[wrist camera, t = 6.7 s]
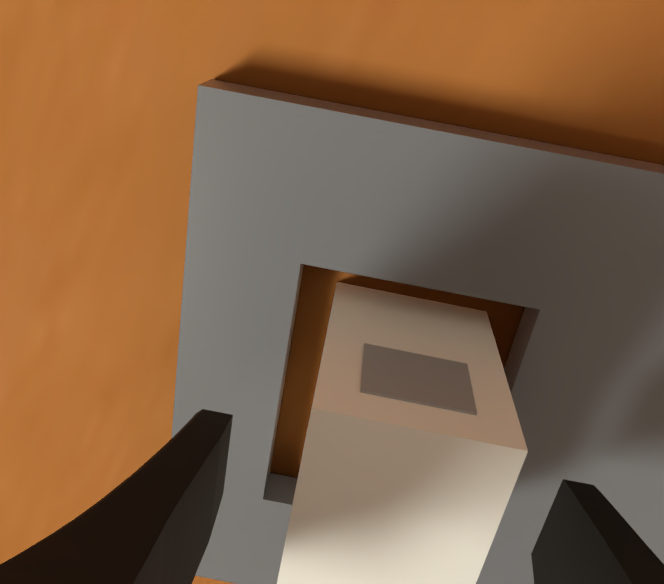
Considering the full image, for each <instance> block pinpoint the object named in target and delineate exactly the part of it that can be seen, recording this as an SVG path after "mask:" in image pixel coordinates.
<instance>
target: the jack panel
mask: <svg viewBox="0 0 664 584" xmlns="http://www.w3.org/2000/svg"><path fill="white" fill-rule="evenodd" d="M304 264H305V265H310V266H315V267H320V268H326V269H331V270H336V271H341V272H346V273H352V274H357V275H362V276H367V277H372V278H377V279H383V280H388V281H393V282H398V283H403V284H409V285H414V286H419V287H424V288H429V289H435V290H440V291H445V292H450V293H455V294H461V295H466V296H471V297H476V298H481V299H487V300H492V301H497V302H502V303H507V304H513V305H518V306H523V307H525V308H524V311H523V314H522V317H521V320H520V323H519V326H518V329H517V332H516V335H515V338H514V341H513V344H512V347H511V350H510V353H509V356H508V359H507V361H506V364H505V367H504V372H505V375H506V379H507V382H508V385H509V389H510V392H511V395H512V399H513V402H514V405H515V409H516V412H517V416H518V419H519V422H520V426H521V429H522V432H523V436H524V439H525V442H526V446H527V449H528V453H527V455H526V458H525V460H524V463H523V465H522V468H521V470H520V473H519V475H518V478H517V481H516V483H515V486H514V488H513V491H512V493H511V496H510V498H509V501H508V503H507V506H506V509H505V511H504V514H503V516H502V519H501V521H500V524H499V526H498V529H497V531H496V534H495V536H494V539H493V542H492V544H491V547H490V549H489V552H488V554H487V557H486V559H485V562H484V564H483V567H482V569H481V572H480V575H479V577H478V580H477V582H476V584H534V576H533V566H532V557H531V553H532V551H533V549H534V546H535V544H536V542H537V539H538V537H539V534H540V532H541V530H542V527H543V525H544V523H545V520H546V518H547V516H548V513H549V511H550V509H551V506H552V504H553V502H554V499H555V497H556V494H557V492H558V490H559V487H560V485H561V483H562V480H563V479H565V480H571V481H576V482H581V483H586V484H591V485H594V486H595V487H596V488H597V489H598V490H599V491H600V492H601V493H602V494H603V495H604V496H605V497H606V499H607V500H608V501H609V502H610V503H611V504H612V505H613V507H614V508H615V509H616V510H617V511H618V512H619V513H620V515H621V516H622V517H623V518H624V519H625V520H626V522H627V523H628V524H629V525H630V526H631V527H632V528H633V530H634V531H635V532H636V533H637V534H638V535H639V537H640V538H641V539H642V540H643V541H644V542H645V543H646V545H647V546H648V547H649V548H650V549H651V550H652V551H653V553H654V554H655V555H656V556H657V557H658V558H659V559H660V561H661V562H662V563H663V564H664V165H661V164H655V163H650V162H645V161H640V160H634V159H629V158H624V157H619V156H613V155H608V154H603V153H598V152H592V151H587V150H582V149H577V148H571V147H566V146H561V145H556V144H550V143H545V142H540V141H535V140H529V139H524V138H519V137H514V136H508V135H503V134H498V133H493V132H487V131H482V130H477V129H472V128H466V127H461V126H456V125H450V124H445V123H440V122H435V121H429V120H424V119H419V118H414V117H408V116H403V115H398V114H393V113H387V112H382V111H377V110H372V109H366V108H361V107H356V106H351V105H345V104H340V103H335V102H330V101H324V100H319V99H314V98H309V97H303V96H298V95H293V94H288V93H282V92H277V91H272V90H267V89H261V88H256V87H251V86H245V85H240V84H235V83H230V82H224V81H219V80H214V79H211V80H209V81H207V82H204V83H202V84H200V85H198V94H197V108H196V121H195V134H194V147H193V161H192V174H191V187H190V201H189V214H188V227H187V240H186V254H185V267H184V280H183V294H182V307H181V320H180V334H179V347H178V360H177V373H176V387H175V400H174V413H173V427H172V438H173V437H174V436H175V435H176V434H177V433H178V432H179V431H180V430H181V429H182V428H183V427H184V426H185V425H186V424H187V423H188V422H189V420H190V419H191V418H192V417H193V416H194V415H195V414H196V413H197V412H199V411H200V410H202V409H206V410H211V411H216V412H221V413H226V414H231V415H233V419H232V427H231V435H230V443H229V451H228V459H227V467H226V475H225V483H224V491H223V496H222V500H221V503H220V506H219V510H218V513H217V517H216V520H215V523H214V527H213V530H212V533H211V537H210V540H209V543H208V545H207V548H206V550H205V553H204V555H203V557H202V560H201V562H200V565H199V567H198V569H197V572H196V574H195V576H200V577H206V578H211V579H216V580H221V581H226V582H231V583H236V584H277V580H278V575H279V570H280V565H281V560H282V555H283V550H284V545H285V540H286V535H287V530H288V524H289V519H290V514H291V509H292V504H293V499H294V494H295V489H296V484H297V479H298V478H295V477H290V476H284V475H279V474H274V473H270V468H271V462H272V456H273V450H274V444H275V438H276V431H277V425H278V419H279V413H280V407H281V401H282V395H283V389H284V383H285V377H286V370H287V364H288V358H289V352H290V346H291V340H292V334H293V328H294V322H295V316H296V309H297V303H298V297H299V291H300V285H301V279H302V273H303V267H304Z"/></svg>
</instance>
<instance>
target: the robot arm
mask: <svg viewBox="0 0 664 584" xmlns="http://www.w3.org/2000/svg"><path fill="white" fill-rule="evenodd" d="M232 419H233V415H231V414H226V413H221V412H216V411H211V410H206V409H202V410H200V411H199V412H197V413H196V414H195V415H194V416H193V417H192V418H191V419H190V420H189V422H188V423H187V424H186V425H185V426H184V427H183V428H182V429H181V430H180V431H179V432H178V433H177V434H176V435H175V436H174V437H173V438H172V439H171V440H170V441H169V442H168V443H167V444H166V445H165V446H164V447H162V448H161V449H160V450H159V451H158V452H157V453H156V454H155V455H154V456H153V457H151V458H150V459H149V460H148V461H147V462H146V463H145V464H144V465H143V466H141V467H140V468H139V469H138V470H137V471H136V472H135V473H133V474H132V475H131V476H130V477H129V478H127V479H126V480H125V481H124V482H122V483H121V484H120V485H119V486H117V487H116V488H115V489H114V490H112V491H111V492H110V493H109V494H107V495H106V496H105V497H104V498H102V499H101V500H100V501H99V502H97V503H96V504H95V505H93V506H92V507H90V508H89V509H88V510H86V511H85V512H84V513H82V514H81V515H79V516H78V517H76V518H75V519H74V520H72V521H71V522H69V523H68V524H66V525H65V526H63V527H62V528H60V529H59V530H57V531H56V532H54V533H53V534H51V535H49V536H48V537H46V538H44V539H43V540H41V541H40V542H38V543H36V544H35V545H33V546H31V547H30V548H28V549H26V550H25V551H23V552H21V553H20V554H18V555H16V556H15V557H13V558H11V559H9V560H8V561H6V562H4V563H2V564H0V584H192V581H193V579H194V577H195V574H196V572H197V569H198V567H199V565H200V562H201V560H202V557H203V555H204V553H205V550H206V548H207V545H208V543H209V540H210V537H211V533H212V530H213V527H214V523H215V520H216V517H217V513H218V510H219V506H220V503H221V500H222V496H223V491H224V483H225V475H226V467H227V459H228V451H229V443H230V435H231V427H232ZM531 557H532V566H533V576H534V584H664V564H663V563H662V562H661V561H660V559H659V558H658V557H657V556H656V555H655V554H654V553H653V551H652V550H651V549H650V548H649V547H648V546H647V545H646V543H645V542H644V541H643V540H642V539H641V538H640V537H639V535H638V534H637V533H636V532H635V531H634V530H633V528H632V527H631V526H630V525H629V524H628V523H627V522H626V520H625V519H624V518H623V517H622V516H621V515H620V513H619V512H618V511H617V510H616V509H615V508H614V507H613V505H612V504H611V503H610V502H609V501H608V500H607V499H606V497H605V496H604V495H603V494H602V493H601V492H600V491H599V490H598V489H597V488H596V487H595V486H594V485H591V484H586V483H581V482H576V481H571V480H565V479H563V480H562V483H561V485H560V487H559V490H558V492H557V494H556V497H555V499H554V502H553V504H552V506H551V509H550V511H549V513H548V516H547V518H546V520H545V523H544V525H543V527H542V530H541V532H540V534H539V537H538V539H537V542H536V544H535V546H534V549H533V551H532V553H531Z"/></svg>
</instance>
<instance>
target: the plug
mask: <svg viewBox="0 0 664 584" xmlns="http://www.w3.org/2000/svg"><path fill="white" fill-rule="evenodd" d="M527 453H528V449H527V446H526V442H525V439H524V436H523V432H522V429H521V426H520V422H519V419H518V416H517V412H516V409H515V405H514V402H513V399H512V395H511V392H510V389H509V385H508V382H507V379H506V375H505V372H504V368H503V365H502V362H501V358H500V355H499V352H498V348H497V345H496V341H495V338H494V335H493V331H492V328H491V325H490V321H489V318H488V315H487V311H482V310H477V309H472V308H467V307H462V306H457V305H452V304H447V303H442V302H437V301H432V300H427V299H422V298H417V297H411V296H406V295H401V294H396V293H391V292H386V291H381V290H376V289H371V288H366V287H361V286H356V285H351V284H346V283H341V282H337V283H336V288H335V293H334V298H333V303H332V308H331V313H330V318H329V323H328V328H327V333H326V338H325V343H324V348H323V353H322V358H321V363H320V368H319V373H318V378H317V383H316V388H315V393H314V398H313V403H312V408H311V413H310V418H309V423H308V429H307V434H306V439H305V444H304V449H303V454H302V459H301V464H300V469H299V474H298V479H297V484H296V489H295V494H294V499H293V504H292V509H291V514H290V519H289V524H288V530H287V535H286V540H285V545H284V550H283V555H282V560H281V565H280V570H279V575H278V580H277V584H476V582H477V580H478V577H479V575H480V572H481V569H482V567H483V564H484V562H485V559H486V557H487V554H488V552H489V549H490V547H491V544H492V542H493V539H494V536H495V534H496V531H497V529H498V526H499V524H500V521H501V519H502V516H503V514H504V511H505V509H506V506H507V503H508V501H509V498H510V496H511V493H512V491H513V488H514V486H515V483H516V481H517V478H518V475H519V473H520V470H521V468H522V465H523V463H524V460H525V458H526V455H527Z"/></svg>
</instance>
